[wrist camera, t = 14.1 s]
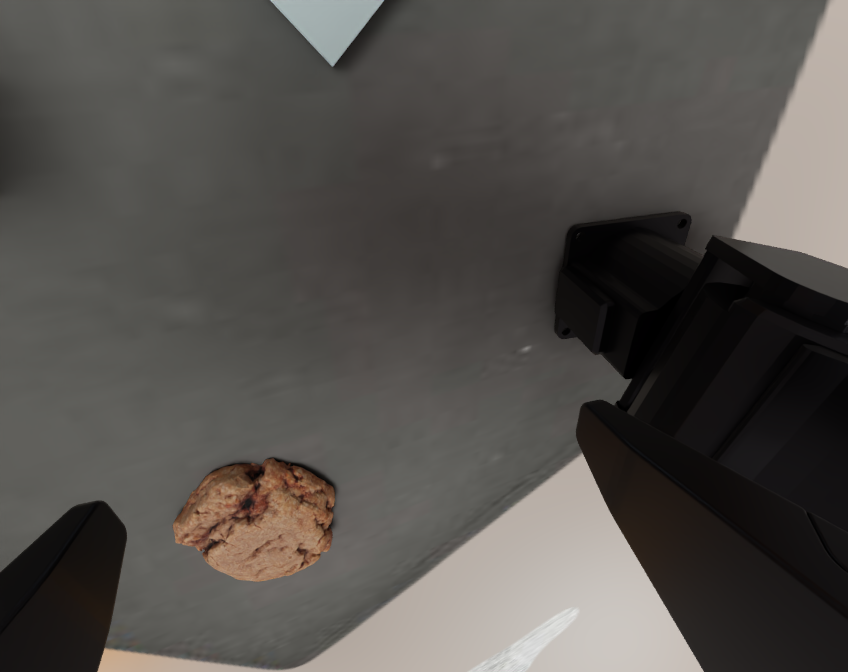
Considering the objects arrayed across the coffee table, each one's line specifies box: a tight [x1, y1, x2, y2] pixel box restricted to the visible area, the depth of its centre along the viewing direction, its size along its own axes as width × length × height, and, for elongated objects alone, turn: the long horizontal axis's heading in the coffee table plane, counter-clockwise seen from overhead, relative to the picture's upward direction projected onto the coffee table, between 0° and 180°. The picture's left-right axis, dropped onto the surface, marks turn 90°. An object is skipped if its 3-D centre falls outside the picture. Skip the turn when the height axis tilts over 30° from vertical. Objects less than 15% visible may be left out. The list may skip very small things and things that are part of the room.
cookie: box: [173, 458, 335, 582], centre depth 27 cm, size 10×11×3 cm
